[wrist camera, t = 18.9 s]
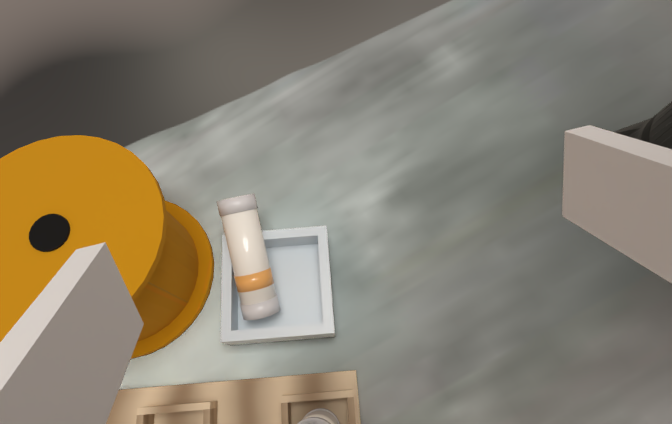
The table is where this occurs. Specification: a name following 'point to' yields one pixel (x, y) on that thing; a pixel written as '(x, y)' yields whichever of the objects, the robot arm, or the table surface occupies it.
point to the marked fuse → (248, 257)
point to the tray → (284, 290)
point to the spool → (99, 232)
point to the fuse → (320, 417)
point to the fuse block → (241, 401)
